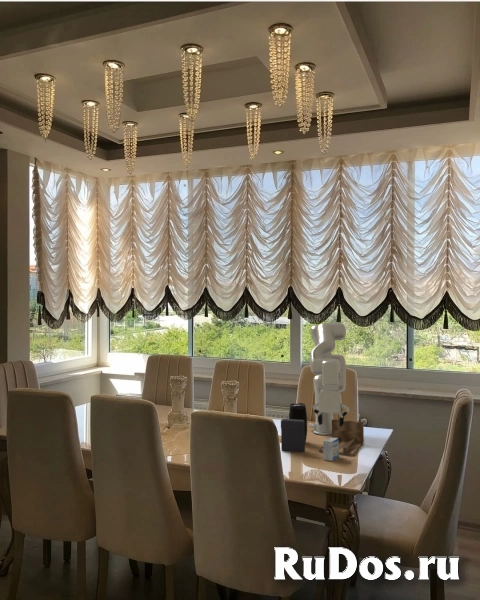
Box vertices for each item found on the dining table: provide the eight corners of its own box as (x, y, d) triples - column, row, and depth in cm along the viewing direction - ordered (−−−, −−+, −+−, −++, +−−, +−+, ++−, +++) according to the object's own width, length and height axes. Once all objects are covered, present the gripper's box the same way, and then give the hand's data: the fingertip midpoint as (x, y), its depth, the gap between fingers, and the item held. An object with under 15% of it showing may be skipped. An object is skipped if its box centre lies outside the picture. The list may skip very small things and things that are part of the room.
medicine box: (332, 461, 238) (332, 442, 238) (323, 460, 241) (323, 440, 241) (339, 456, 245) (338, 438, 245) (330, 455, 247) (329, 436, 247)
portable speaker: (304, 445, 264) (303, 406, 264) (286, 443, 268) (286, 405, 268) (309, 441, 272) (308, 403, 272) (292, 439, 276) (291, 401, 276)
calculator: (305, 450, 256) (305, 419, 256) (303, 453, 252) (303, 421, 252) (283, 448, 259) (282, 418, 259) (281, 451, 255) (280, 420, 255)
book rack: (319, 452, 253) (318, 428, 253) (332, 440, 272) (332, 419, 272) (352, 456, 246) (352, 431, 246) (363, 444, 265) (363, 421, 265)
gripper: (309, 387, 243) (310, 425, 243) (346, 389, 236) (347, 428, 235) (314, 385, 250) (315, 421, 250) (351, 387, 242) (351, 425, 242)
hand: (330, 425), depth 242 cm, fingers open, 9 cm apart
